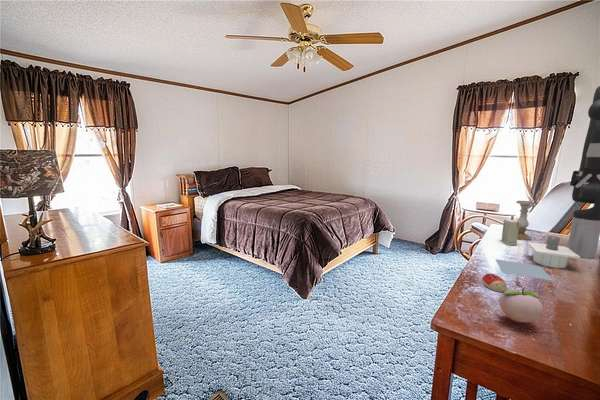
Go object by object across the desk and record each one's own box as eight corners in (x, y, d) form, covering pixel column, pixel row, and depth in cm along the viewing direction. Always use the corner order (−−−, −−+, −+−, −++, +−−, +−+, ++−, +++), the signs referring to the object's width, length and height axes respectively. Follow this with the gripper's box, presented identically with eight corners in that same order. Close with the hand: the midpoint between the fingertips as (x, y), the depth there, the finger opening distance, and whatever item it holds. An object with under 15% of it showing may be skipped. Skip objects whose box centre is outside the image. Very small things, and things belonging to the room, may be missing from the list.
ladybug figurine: (491, 292, 90) (492, 282, 89) (475, 279, 99) (477, 270, 99) (512, 294, 89) (514, 284, 88) (495, 280, 99) (496, 271, 98)
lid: (527, 243, 120) (528, 231, 119) (565, 248, 114) (568, 235, 114) (536, 253, 109) (538, 239, 108) (579, 258, 103) (582, 244, 102)
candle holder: (516, 239, 145) (521, 202, 141) (506, 235, 153) (511, 200, 150) (534, 240, 143) (540, 203, 140) (523, 236, 152) (529, 200, 148)
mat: (495, 260, 117) (495, 259, 116) (539, 267, 110) (539, 265, 110) (502, 274, 103) (502, 272, 103) (553, 282, 97) (553, 280, 97)
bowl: (530, 258, 119) (532, 245, 118) (559, 262, 115) (562, 248, 114) (537, 266, 111) (539, 252, 110) (570, 271, 106) (572, 256, 105)
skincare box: (516, 246, 135) (520, 222, 133) (507, 245, 136) (510, 221, 134) (509, 242, 141) (513, 219, 139) (500, 241, 142) (503, 218, 140)
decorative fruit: (513, 333, 69) (519, 297, 67) (491, 314, 77) (495, 281, 76) (550, 333, 69) (556, 297, 67) (523, 314, 77) (528, 281, 76)
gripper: (635, 156, 93) (626, 201, 96) (583, 155, 107) (575, 195, 110) (622, 156, 91) (613, 203, 94) (570, 155, 105) (563, 196, 107)
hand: (593, 199), depth 102 cm, fingers open, 8 cm apart
